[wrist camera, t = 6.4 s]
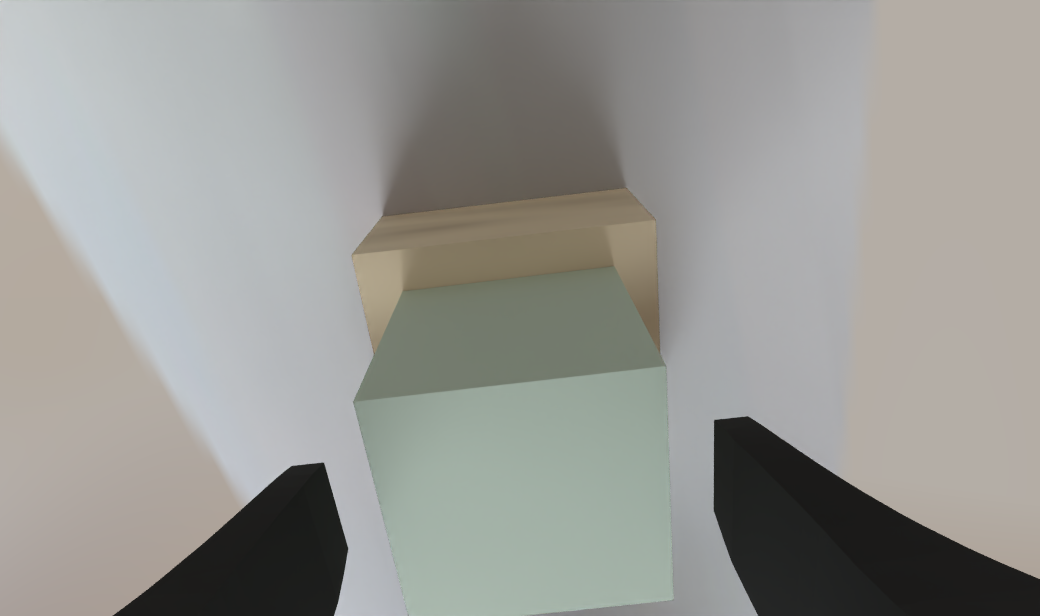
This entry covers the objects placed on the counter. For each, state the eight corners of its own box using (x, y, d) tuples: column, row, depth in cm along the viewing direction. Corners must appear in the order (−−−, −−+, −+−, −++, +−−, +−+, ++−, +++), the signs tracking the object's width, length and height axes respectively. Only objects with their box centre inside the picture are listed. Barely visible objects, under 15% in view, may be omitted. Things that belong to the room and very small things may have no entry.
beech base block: (634, 396, 20) (663, 472, 17) (425, 419, 20) (407, 499, 17) (624, 185, 18) (656, 219, 14) (383, 214, 18) (351, 254, 14)
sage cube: (625, 445, 16) (673, 599, 12) (438, 465, 16) (410, 627, 12) (614, 265, 14) (666, 365, 10) (402, 291, 14) (353, 401, 10)
